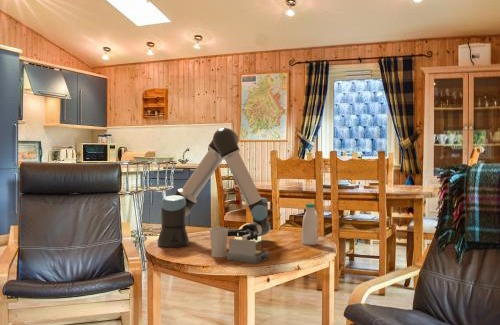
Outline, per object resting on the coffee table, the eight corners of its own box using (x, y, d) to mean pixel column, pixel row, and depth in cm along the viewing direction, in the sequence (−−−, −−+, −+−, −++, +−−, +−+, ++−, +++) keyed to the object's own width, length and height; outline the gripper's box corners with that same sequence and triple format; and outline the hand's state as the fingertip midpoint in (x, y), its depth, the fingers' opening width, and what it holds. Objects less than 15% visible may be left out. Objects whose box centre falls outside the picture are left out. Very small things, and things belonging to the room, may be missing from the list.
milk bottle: (317, 245, 236) (317, 204, 236) (301, 244, 238) (301, 204, 237) (318, 242, 244) (318, 203, 243) (302, 242, 245) (303, 202, 245)
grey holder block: (226, 259, 204) (226, 238, 204) (240, 254, 215) (240, 234, 214) (257, 264, 197) (257, 242, 197) (269, 258, 208) (269, 237, 208)
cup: (231, 256, 212) (231, 228, 211) (217, 258, 206) (217, 230, 206) (219, 253, 217) (219, 226, 217) (205, 255, 212) (206, 228, 212)
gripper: (274, 241, 233) (254, 249, 214) (229, 236, 244) (206, 243, 225) (274, 225, 232) (254, 232, 214) (229, 221, 244) (206, 227, 225)
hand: (229, 238), depth 219 cm, fingers open, 13 cm apart
